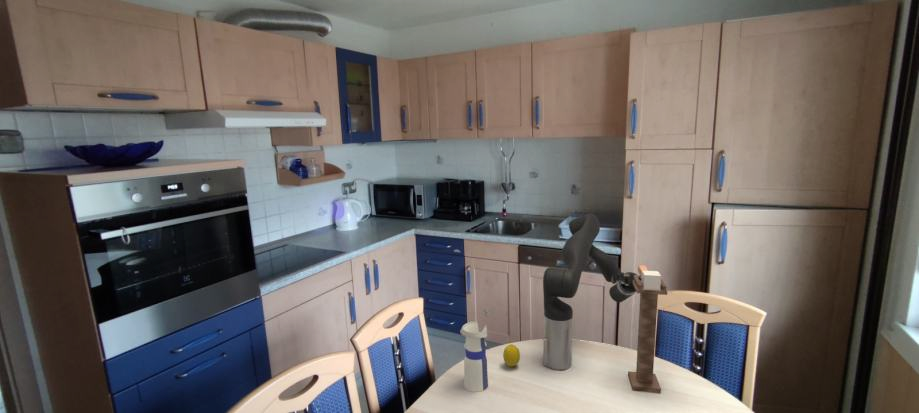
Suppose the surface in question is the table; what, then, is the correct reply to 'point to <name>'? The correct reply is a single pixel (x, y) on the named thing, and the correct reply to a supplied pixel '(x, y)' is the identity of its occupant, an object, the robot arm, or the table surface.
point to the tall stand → (646, 340)
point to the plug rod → (649, 278)
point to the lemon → (511, 355)
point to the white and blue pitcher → (475, 357)
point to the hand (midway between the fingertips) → (636, 276)
